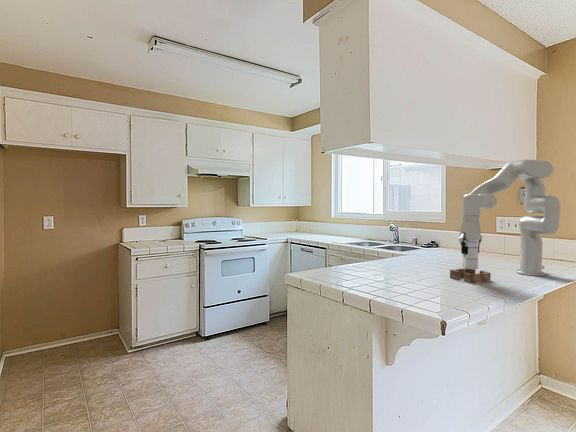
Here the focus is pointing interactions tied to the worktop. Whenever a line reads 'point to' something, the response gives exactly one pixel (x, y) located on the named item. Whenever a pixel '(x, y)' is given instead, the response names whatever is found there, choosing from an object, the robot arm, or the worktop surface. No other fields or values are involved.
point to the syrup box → (471, 255)
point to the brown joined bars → (470, 275)
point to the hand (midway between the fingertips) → (470, 253)
